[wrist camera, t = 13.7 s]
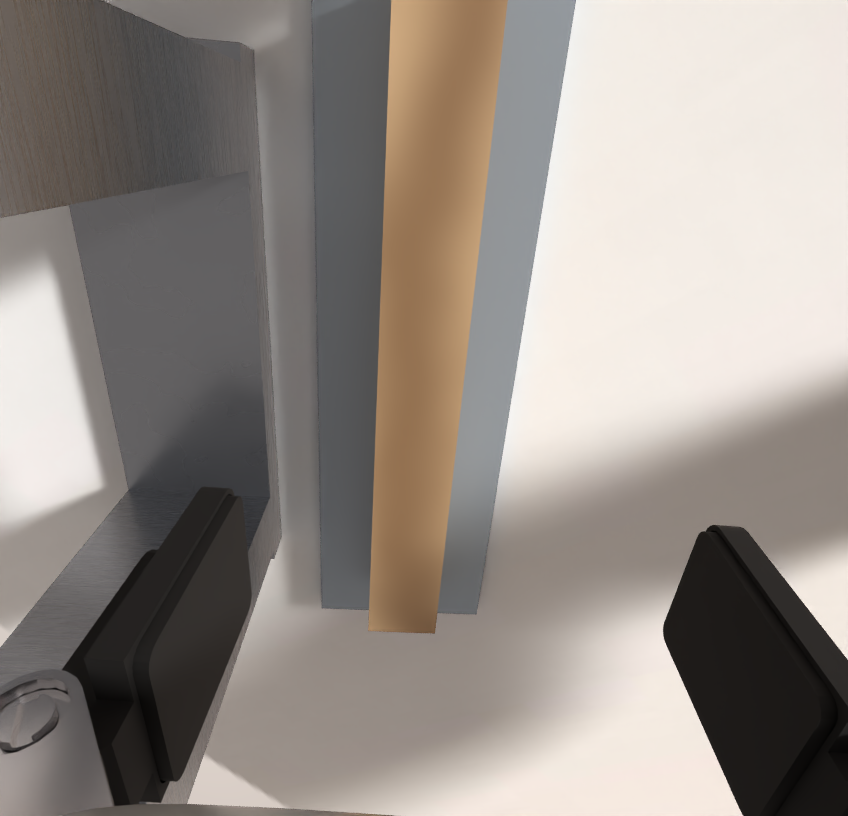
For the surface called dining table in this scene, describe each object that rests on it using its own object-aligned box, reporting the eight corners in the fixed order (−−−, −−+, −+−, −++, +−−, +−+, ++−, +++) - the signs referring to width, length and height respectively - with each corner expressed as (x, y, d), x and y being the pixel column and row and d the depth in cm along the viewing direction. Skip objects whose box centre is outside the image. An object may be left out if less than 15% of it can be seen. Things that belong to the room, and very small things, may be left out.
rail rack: (253, 49, 17) (-310, -264, 4) (281, 537, 26) (141, 955, 13) (61, 33, 17) (-1270, -368, 4) (155, 531, 26) (-122, 952, 12)
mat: (584, -80, 16) (590, -88, 15) (475, 605, 28) (476, 614, 28) (313, -108, 16) (309, -117, 15) (323, 599, 28) (321, 608, 28)
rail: (496, -9, 16) (512, -38, 14) (432, 584, 27) (434, 633, 24) (396, -18, 16) (393, -49, 13) (372, 581, 27) (368, 630, 24)
